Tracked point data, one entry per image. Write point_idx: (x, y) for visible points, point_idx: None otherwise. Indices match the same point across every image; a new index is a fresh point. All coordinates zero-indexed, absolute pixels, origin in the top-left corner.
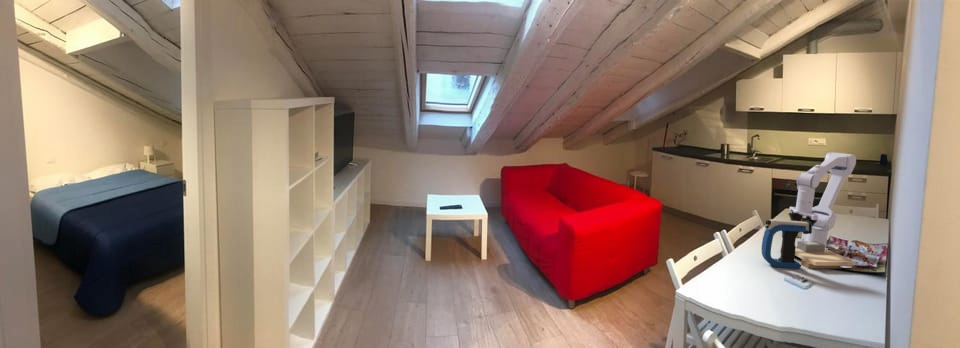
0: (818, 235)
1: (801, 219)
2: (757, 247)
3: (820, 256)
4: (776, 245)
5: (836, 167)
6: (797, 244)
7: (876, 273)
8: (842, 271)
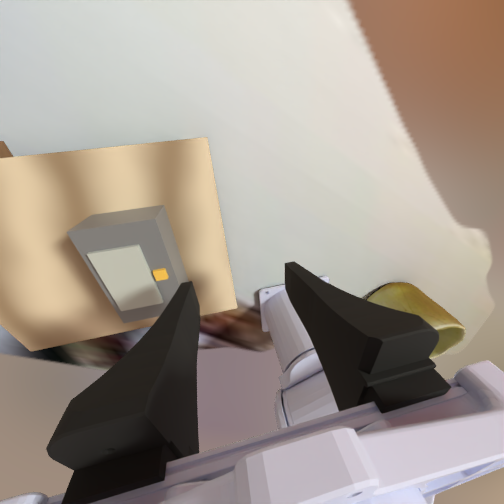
0: (281, 341)
1: (441, 347)
2: (281, 27)
3: (36, 257)
4: (309, 179)
5: None
6: (157, 211)
7: (60, 361)
8: None
